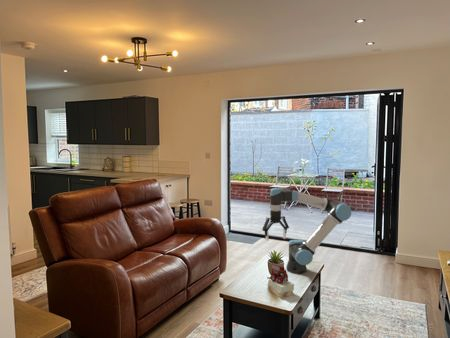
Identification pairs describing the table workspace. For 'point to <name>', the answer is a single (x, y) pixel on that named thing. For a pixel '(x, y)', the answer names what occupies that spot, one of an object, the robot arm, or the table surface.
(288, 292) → the block
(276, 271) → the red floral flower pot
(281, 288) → the cream flat block
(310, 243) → the robot arm
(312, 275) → the table surface
